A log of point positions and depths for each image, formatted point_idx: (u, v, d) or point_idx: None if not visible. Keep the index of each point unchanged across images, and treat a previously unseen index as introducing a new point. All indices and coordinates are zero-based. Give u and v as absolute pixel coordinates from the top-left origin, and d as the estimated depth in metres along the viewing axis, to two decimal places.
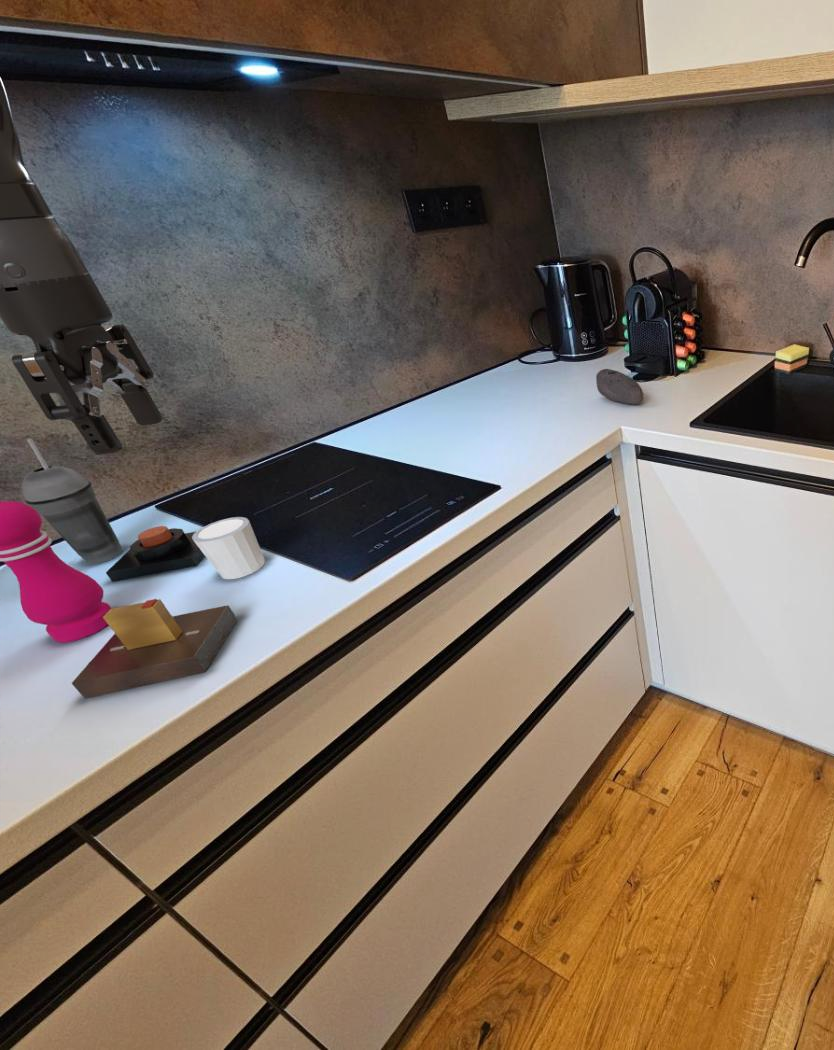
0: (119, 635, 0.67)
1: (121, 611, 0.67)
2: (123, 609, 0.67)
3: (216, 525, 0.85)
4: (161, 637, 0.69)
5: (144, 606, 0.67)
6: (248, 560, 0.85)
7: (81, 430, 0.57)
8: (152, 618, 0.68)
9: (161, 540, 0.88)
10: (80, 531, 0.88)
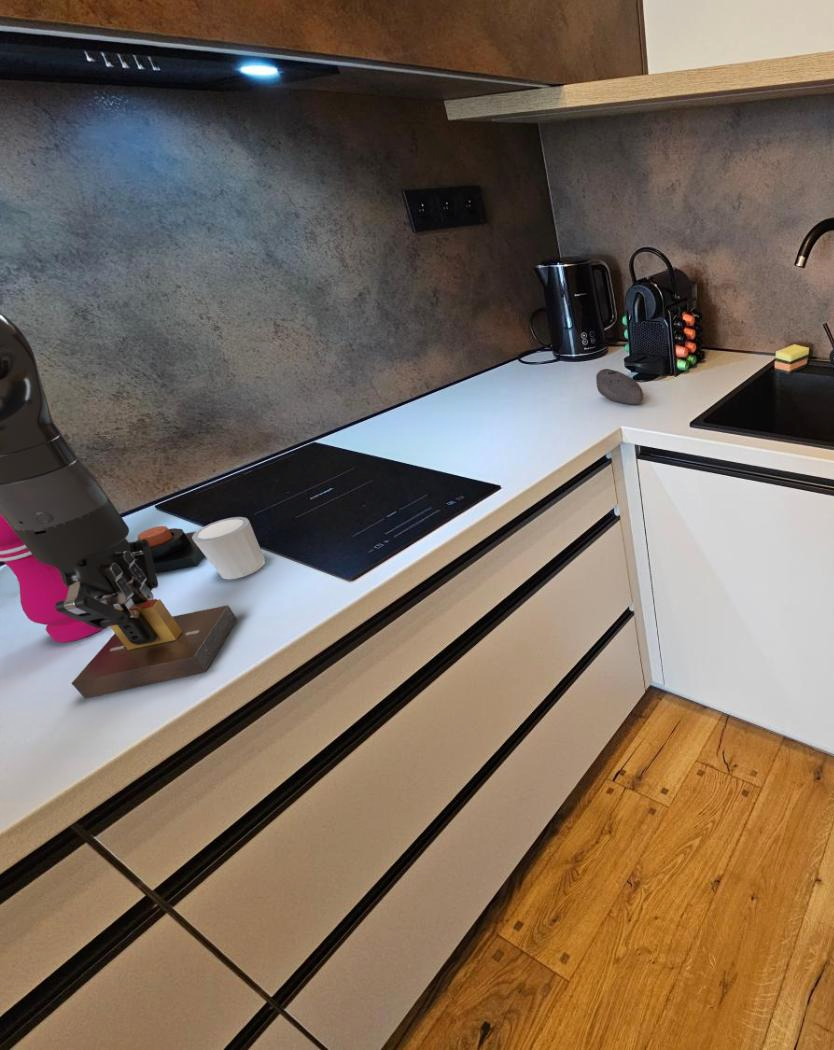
0: (119, 635, 0.67)
1: None
2: None
3: (216, 525, 0.85)
4: (161, 637, 0.69)
5: (144, 606, 0.67)
6: (248, 560, 0.85)
7: (123, 629, 0.66)
8: (152, 618, 0.68)
9: (161, 540, 0.88)
10: None
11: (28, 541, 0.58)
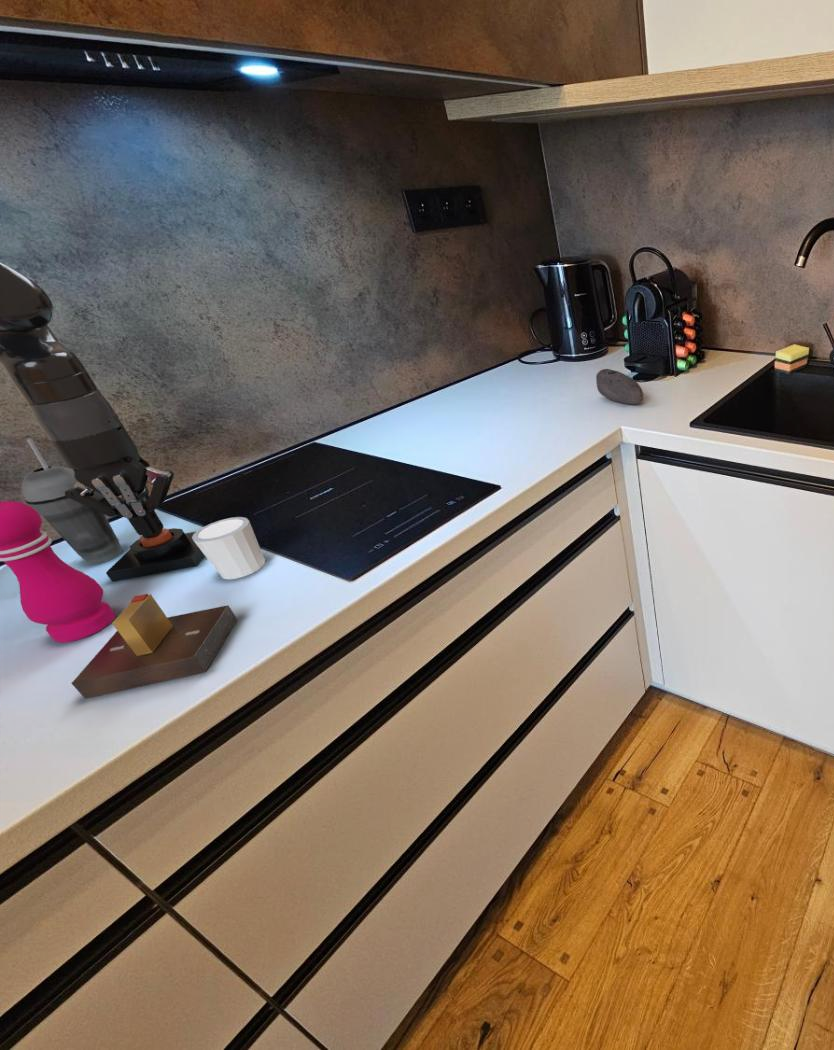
0: (143, 637, 0.67)
1: (131, 611, 0.66)
2: (127, 612, 0.66)
3: (216, 525, 0.85)
4: (165, 627, 0.71)
5: (143, 596, 0.68)
6: (248, 560, 0.85)
7: (153, 518, 0.87)
8: (154, 607, 0.69)
9: (162, 542, 0.89)
10: (80, 531, 0.88)
11: (113, 439, 0.80)
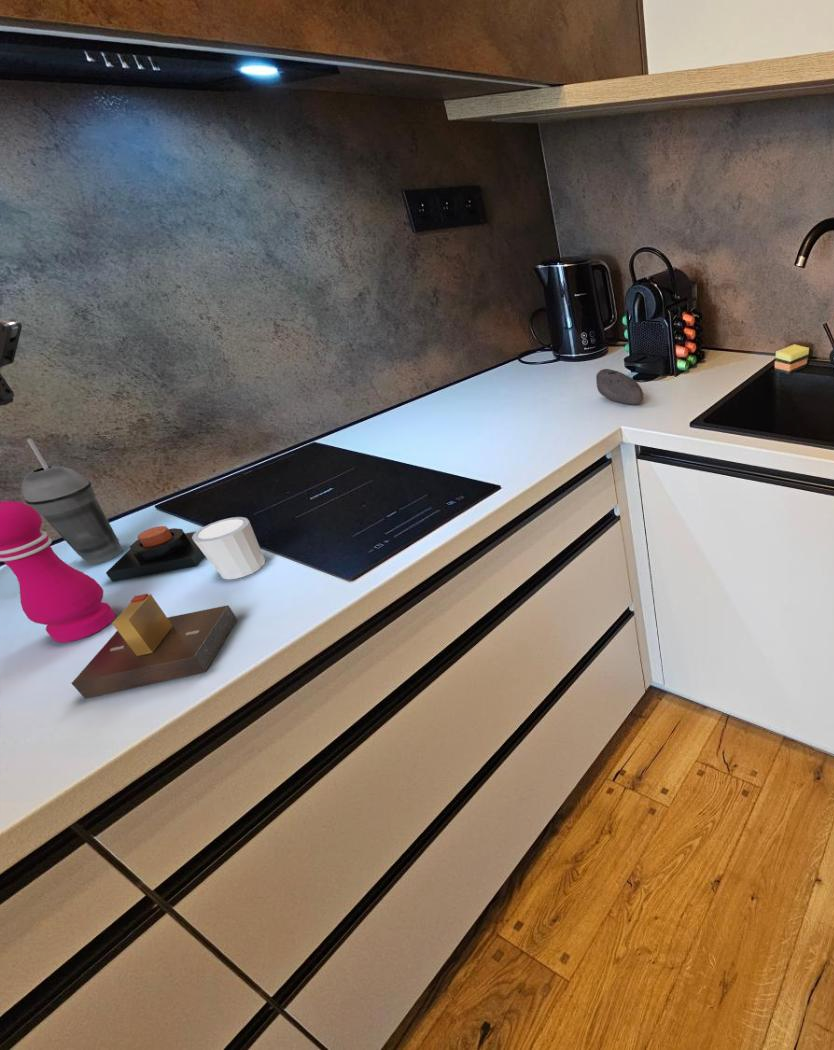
0: (143, 637, 0.67)
1: (131, 611, 0.66)
2: (127, 612, 0.66)
3: (216, 525, 0.85)
4: (165, 627, 0.71)
5: (143, 596, 0.68)
6: (248, 560, 0.85)
7: None
8: (154, 607, 0.69)
9: (161, 540, 0.88)
10: (80, 531, 0.88)
11: None
